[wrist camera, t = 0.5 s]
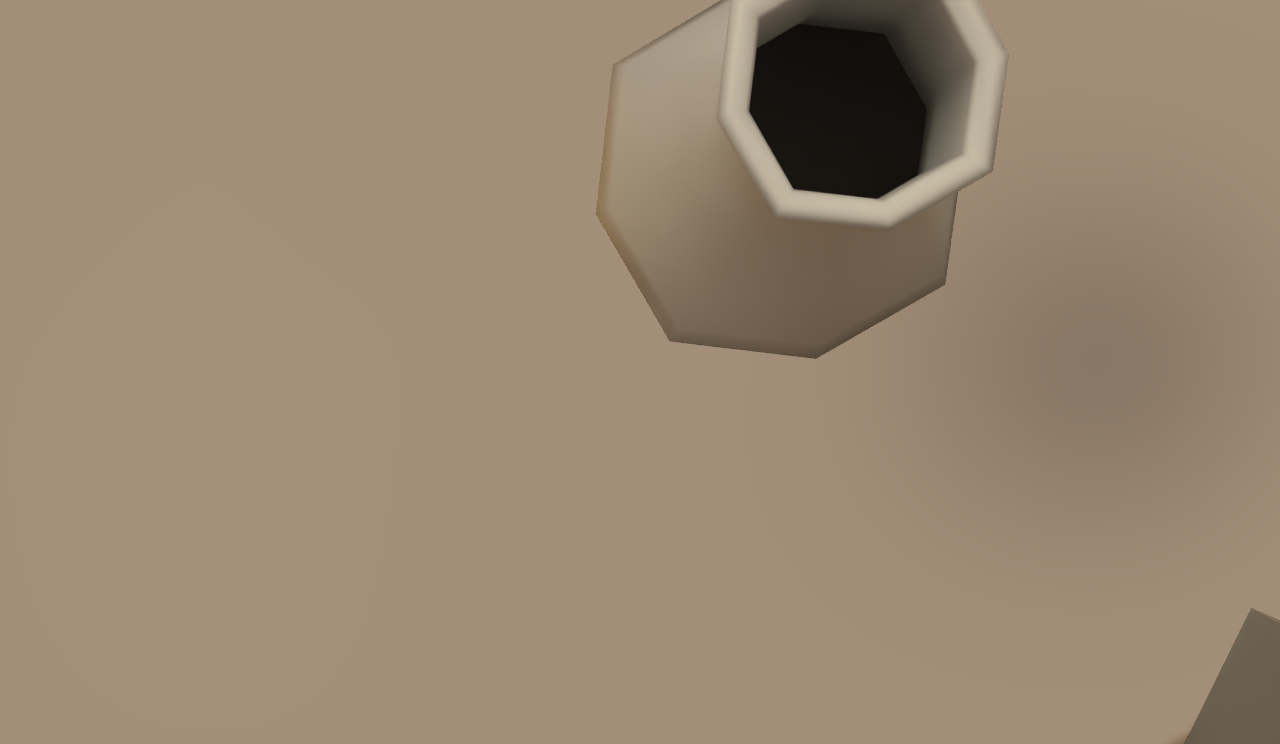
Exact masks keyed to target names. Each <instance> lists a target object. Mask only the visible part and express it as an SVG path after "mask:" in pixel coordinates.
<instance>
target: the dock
mask: <svg viewBox="0 0 1280 744" xmlns="http://www.w3.org/2000/svg"><path fill="white" fill-rule="evenodd" d="M1185 744H1280V620H1277V619H1275V618H1273V617H1270V616H1268V615H1266V614H1264V613H1262V612H1259V611H1257V610H1255V609H1252V608H1251V610H1250V612H1249V614H1248V616H1247V618H1246V620H1245V622H1244V624H1243V626H1242V629H1241V630H1240V632H1239V635H1238V636H1237V638H1236V640H1235V642H1234V645H1233V647H1232V649H1231V651H1230V653H1229V655H1228V657H1227V659H1226V661H1225V663H1224V665H1223V667H1222V669H1221V671H1220V673H1219V675H1218V677H1217V679H1216V681H1215V683H1214V685H1213V687H1212V689H1211V691H1210V693H1209V695H1208V697H1207V699H1206V701H1205V703H1204V705H1203V707H1202V710H1201V711H1200V714H1199V716H1198V718H1197V720H1196V722H1195V724H1194V726H1193V728H1192V730H1191V732H1190V734H1189V736H1188V738H1187V740H1186V742H1185Z"/></svg>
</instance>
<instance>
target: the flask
mask: <svg viewBox="0 0 1280 744" xmlns="http://www.w3.org/2000/svg"><path fill="white" fill-rule="evenodd" d="M1008 56H1009V53H1008V52H1007V50H1006V48H1005V46H1004V44H1003V43H1002V41H1001V39H1000V37H999V35H998V33H997V32H996V30H995V28H994V26H993V24H992V23H991V21H990V19H989V18H988V16H987V14H986V12H985V10H984V8H983V7H982V5H981V3H980V1H979V0H721V1H719V2H717V3H715V4H714V5H712V6H710V7H709V8H707V9H706V10H704V11H702V12H701V13H699V14H697V15H696V16H694V17H692V18H690V19H689V20H687V21H685V22H684V23H682V24H680V25H679V26H677V27H675V28H674V29H672V30H670V31H669V32H667V33H666V34H664V35H662V36H660V37H659V38H657V39H655V40H654V41H652V42H650V43H649V44H647V45H645V46H644V47H642V48H640V49H639V50H637V51H635V52H634V53H632V54H630V55H629V56H627V57H625V58H624V59H622V60H620V61H618V62H617V63H615V64H614V65H613V69H612V78H611V86H610V95H609V104H608V113H607V122H606V130H605V139H604V148H603V157H602V166H601V174H600V183H599V192H598V201H597V209H596V215H597V216H598V218H599V220H600V222H601V223H602V225H603V227H604V228H605V230H606V232H607V234H608V235H609V237H610V239H611V241H612V242H613V244H614V246H615V247H616V249H617V251H618V253H619V254H620V256H621V258H622V259H623V261H624V263H625V265H626V266H627V268H628V270H629V272H630V273H631V275H632V277H633V278H634V280H635V281H636V284H637V285H638V287H639V289H640V291H641V292H642V294H643V296H644V297H645V299H646V301H647V303H648V304H649V306H650V308H651V309H652V311H653V313H654V315H655V316H656V318H657V320H658V322H659V323H660V325H661V326H662V328H663V330H664V332H665V334H666V335H667V337H668V339H669V340H670V341H673V342H680V343H689V344H697V345H706V346H714V347H723V348H731V349H740V350H749V351H756V352H765V353H773V354H782V355H790V356H798V357H807V358H815V359H816V358H818V357H819V356H821V355H823V354H825V353H826V352H828V351H830V350H832V349H833V348H835V347H837V346H839V345H840V344H842V343H844V342H846V341H847V340H849V339H851V338H853V337H854V336H856V335H858V334H860V333H861V332H863V331H865V330H867V329H868V328H870V327H872V326H874V325H875V324H877V323H879V322H881V321H882V320H884V319H886V318H888V317H889V316H891V315H893V314H894V313H896V312H898V311H900V310H901V309H903V308H905V307H907V306H908V305H910V304H912V303H914V302H915V301H917V300H919V299H920V298H922V297H924V296H926V295H927V294H929V293H931V292H933V291H935V290H936V289H938V288H940V287H941V286H943V285H945V282H946V275H947V267H948V260H949V253H950V246H951V238H952V231H953V224H954V216H955V209H956V202H957V194H958V191H959V190H961V189H963V188H965V187H966V186H968V185H970V184H971V183H973V182H975V181H977V180H978V179H980V178H982V177H984V176H985V175H987V174H989V173H990V172H992V171H993V165H994V157H995V150H996V143H997V135H998V128H999V121H1000V114H1001V107H1002V99H1003V92H1004V85H1005V78H1006V71H1007V63H1008Z"/></svg>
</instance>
